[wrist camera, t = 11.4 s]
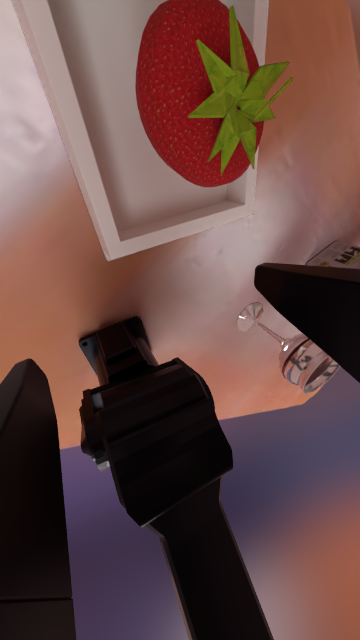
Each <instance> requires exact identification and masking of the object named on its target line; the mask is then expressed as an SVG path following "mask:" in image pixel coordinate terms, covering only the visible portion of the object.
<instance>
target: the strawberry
mask: <svg viewBox="0 0 360 640" xmlns="http://www.w3.org/2000/svg"><path fill="white" fill-rule="evenodd" d="M289 63H290V62H282V63H275V64H269V65H262V66H260V67H259V63H258V60H257V57H256V54H255V52H254V49H253V47H252V44H251V42H250V41H249V39H248V37H247V35H246V33H245V32H244V30H243V28H242V26H241V25H240V23H239V21H238V20H237V18H236V15H235V11H234V7H233V6H231V7H229V9H228V7H227V6H226V5H224V4H223V3H222V2H220V1H219V0H167V1H165V2H163V3H161V4H160V5H159V6H158V7H157V8H156V10H155V11H154V12H153V13H152V14H151V15H150V17H149V19H148V22H147V24H146V26H145V28H144V31H143V33H142V38H141V43H140V47H139V52H138V60H137V68H136V83H135V90H136V99H137V106H138V110H139V115H140V119H141V122H142V124H143V127H144V130H145V133H146V135H147V137H148V139H149V141H150V143H151V145H152V146H153V148H154V149H155V151H156V152H157V154H158V155H159V157H160V158H161V159H162V160H163V161H164V162H165V163H166V164H167V165H168V166H169V167H170V168H171V169H173V170H174V171H175V172H176V173H178V174H179V175H180V176H182V177H183V178H184V179H185V180H187V181H189V182H191V183H193V184H195V185H197V186H201V187H205V188H206V187H217V186H221V185H225V184H228V183H231V182H233V181H235V180H236V179H238V178H239V177H241V176H242V174H243V173H244V172H245V171H246V170H247V169H248V167H249V166H250V164H251V166H252V168H253V169H254V164H255V154H256V151H257V148H258V145H259V142H260V139H261V135H262V131H263V124H264V121H265V120H270V119H275V116H274V114H273V112H272V110H271V109H270V107H269V105H270V104H271V103H272V101H273V100H274V99H275V98H276V97H277V96H278V95H279V94H280V93H281V92H282V91H283V90H284V89H285V88H286V86H287V85H288V84H289V83H290V82H291V81H292V77H291V78H290V79H289V80H288V81H287V82H286V83H285V84H284V85H283V86H282V87H281V88H280V90H279V91H278V92H277V93H276V94H275V95H274V96H273V97H272V98H271V99H270V100H269V102H268V103H267V101H266V99H265V97H264V96H265V95H266V93H267V92H268V91H269V89H270V88H271V87H272V85H273V84H274V83H275V81H276V80H277V79H278V77H279V76H280V75H281V73H282V72H283V71H284V69H285V68H286V67H287V65H288V64H289Z"/></svg>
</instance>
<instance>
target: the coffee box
mask: <svg viewBox="0 0 360 640" xmlns="http://www.w3.org/2000/svg"><path fill="white" fill-rule="evenodd" d="M306 265H309V266H324V267H340V268H355V269H360V247H356V246H353V245H350V244H346V243H342V242H339V241H335V242H334V243H333V244H331V245H330V246H329V247H327V248H326V249H325V250H323V251H322V252H321V253H319V254H318V255H317V256H315V257H314V258H313V259H311V260H310V261H309V262H307V264H306Z"/></svg>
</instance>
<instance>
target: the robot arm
mask: <svg viewBox="0 0 360 640" xmlns="http://www.w3.org/2000/svg"><path fill="white" fill-rule="evenodd" d="M254 285H255V288H256V289H257V290H258V291H259V292H260V293H261V294H262V295H263V296H264V297H265V299H266V300H267V301H268V302H269V303H270V304H271V305H272V306H273V307H274V308H275V309H276V310H277V311H278V312H279V313H280V314H281V315H282V316H283V317H285V318H286V319H287V320H288V321H289V322H290V323H291V324H293V325H294V326H295V327H296V328H297V329H298V330H300V331H301V332H302V333H303V334H304V335H305V336H306V337H308V338H309V339H310V340H311V341H312V342H313V343H314V344H316V345H317V346H318V347H319V348H320V349H321V350H322V351H324V352H325V353H326V354H327V355H328V356H329V357H330V358H332V359H333V360H334V361H335V362H336V363H337V364H339V365H340V366H341V367H342V368H343V369H344V370H345V371H347V372H348V373H349V374H350V375H351V376H352V377H353V378H355V379H356V380H357V381H358V382H359V383H360V269H355V268H340V267H324V266H309V265H294V264H278V263H263V264H260V265H258V266H257V267H256V269H255V277H254ZM136 320H138V322H135V321H136ZM83 342H86V343H85V344H82V343H83ZM79 346H80V348H81V349H82V351H83V353H84V354H85V356H86V358H87V359H88V361H89V363H90V365H91V366H92V368H93V370H94V371H95V373H96V375H97V376H98V380H99V383H100V386H99V387H96V388H94V389H91V390H90V389H87V390H84V391H83V398H84V399H82V406H81V407H80V409H79V411H80V416H81V423H82V431H81V449H82V452H83V453H85V454H88V455H90V456H92V459H93V461H94V462H96V463H97V466H98V469H99V471H100V472H101V471H104V470H105V469H107V468H109V467H110V468H111V472H112V476H113V479H114V482H115V486H116V490H117V494H118V497H119V500H120V503H121V504H122V506H123V507H124V508H126V511H127V513H128V515H129V516H130V517H131V518H132V519H133V520H134V521H135V522H136V523H137V524H138V525H139V526H141V527H143V526H145V525H146V526H147V527H148V528H149V529H150V530H152V531H153V532H154V533H155V534H156V535H157V536H158V537H159V541H160V544H161V547H162V550H163V554H164V557H165V560H166V564H167V567H168V570H169V574H170V577H171V581H172V584H173V587H174V591H175V594H176V597H177V601H178V604H179V607H180V611H181V614H182V617H183V621H184V624H185V627H186V631H187V634H188V637H189V640H274V639H273V636H272V634H271V631H270V628H269V626H268V623H267V621H266V618H265V615H264V613H263V610H262V608H261V605H260V603H259V600H258V597H257V595H256V592H255V590H254V587H253V584H252V582H251V579H250V577H249V574H248V571H247V569H246V566H245V564H244V561H243V558H242V556H241V553H240V551H239V548H238V546H237V543H236V540H235V538H234V535H233V533H232V530H231V527H230V525H229V522H228V520H227V517H226V514H225V512H224V509H223V506H222V503H221V501H220V495H221V484H222V476H223V475H224V474H226V473H227V472H229V471H230V470H232V469H233V458H232V449H231V447H230V445H229V443H228V441H227V439H226V437H225V435H224V433H223V431H222V429H221V427H220V424H219V422H218V419H217V416H216V413H215V406H214V401H213V397H212V394H211V391H210V389H209V387H208V385H207V384H206V382H205V381H204V379H203V378H202V377H201V376H200V375H199V374H198V373H197V372H195V371H194V370H193V369H192V368H190V367H189V366H188V365H187V364H185V363H184V362H183V361H182V360H180V359H179V358H178V357H177V358H174V359H172V361H169V362H166V363H163V364H161V365H159V364H158V362H157V361H156V359H155V357H154V356H153V354H152V352H151V349H150V346H149V343H148V340H147V336H146V333H145V330H144V327H143V324H142V320H141V319H140V317H138V316H136V317H133V318H130V319H128V320H125V321H123V322H120V323H117V324H115V325H112V326H110V327H107V328H105V329H102V330H100V331H98V332H96V333H93V334H91V335H88V336H86V337H84V338H81V339H80V340H79ZM71 597H72V587H71V575H70V564H69V553H68V542H67V529H66V519H65V506H64V495H63V484H62V473H61V461H60V448H59V437H58V426H57V419H56V414H55V409H54V405H53V401H52V396H51V392H50V388H49V383H48V379H47V377H46V375H45V374H44V372H43V371H42V370H41V369H40V368H39V366H38V365H37V364H36V363H35V362H34V360H32V359H26V360H24V361H21V362H19V363H16V364H15V365H14V367H13V368H12V369H11V371H10V372H9V373H8V375H7V376H6V377H5V378H4V380H3V381H2V382H1V384H0V640H76V631H75V621H74V620H75V619H74V608H73V599H72V598H71Z"/></svg>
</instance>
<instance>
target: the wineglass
mask: <svg viewBox="0 0 360 640" xmlns="http://www.w3.org/2000/svg"><path fill="white" fill-rule="evenodd" d="M262 313H263V307H262V305H261V304H260V303H252V304H251V305H249V306H247V307H246V308H245V309H244V310H243V311H242V312H241V314H240V316H239V318H238V320H237V328H238V330H240V331H247V330H250V329H251V328H253V327H254V326H255V325H256V324H257V325H258V326H260V327H261V328H262V329H263V330H265V331H266V332H267V333H268V334H269V335H271V336H272V337H273V338H274V339H276V340H277V341H278V342H279V343H280V344H281V351H280V354H279V367H280V370H281V372H282V374H283V376H284V378H286V379H287V380H288V381H289V382H290V383H292V384H294V385H298V386H300V388H301V389H302V392H303V394H310V393H312V392H314V391H316V390H317V389H318V388H320V387H321V386H322V385H324V384H325V383H326V382H327V381H328V380H329V379H330V378H331V377H332V376H333V375H334V374H335V373H336V371H337V370H338V369H339V368H340V365H339V364H337V363H336V362H335V361H334V360H333V359H332V358H330V357H329V356H328V355H327V354H326V353H325V352H324V351H322V350H321V349H320V348H319V347H318V346H317V345H316V344H314V343H313V342H312V341H311V340H310V339H309V338H308V337H306V336H305V335H304V334H298V335H295V336H294V337H292V338H291V339H290V338H287V339H284V338H282V337H281V336H279V335H278V334H276V333H275V332H273V331H272V330H270V329H269V328H267V327H266V326H264V325H263V324H261V323H260V322H259V320H260V318H261V316H262Z"/></svg>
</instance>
